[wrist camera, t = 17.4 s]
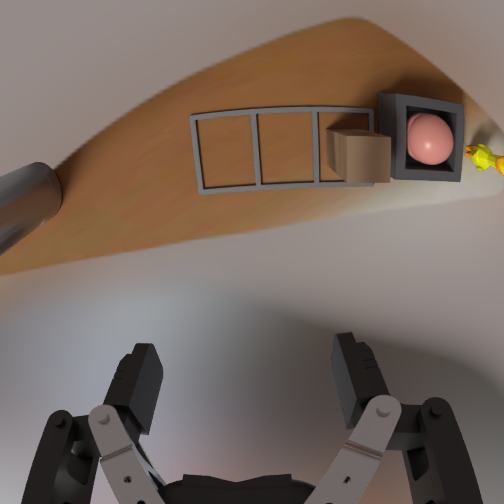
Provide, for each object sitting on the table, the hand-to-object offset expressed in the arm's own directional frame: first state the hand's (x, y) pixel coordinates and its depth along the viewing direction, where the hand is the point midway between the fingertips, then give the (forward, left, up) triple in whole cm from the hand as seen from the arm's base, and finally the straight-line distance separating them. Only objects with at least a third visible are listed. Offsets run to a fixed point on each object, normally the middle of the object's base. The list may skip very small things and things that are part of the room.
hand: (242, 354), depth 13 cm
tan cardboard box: (+11, +5, -26) cm, 29 cm away
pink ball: (+21, +7, -25) cm, 33 cm away
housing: (+21, +7, -26) cm, 34 cm away
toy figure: (+31, +5, -26) cm, 41 cm away
